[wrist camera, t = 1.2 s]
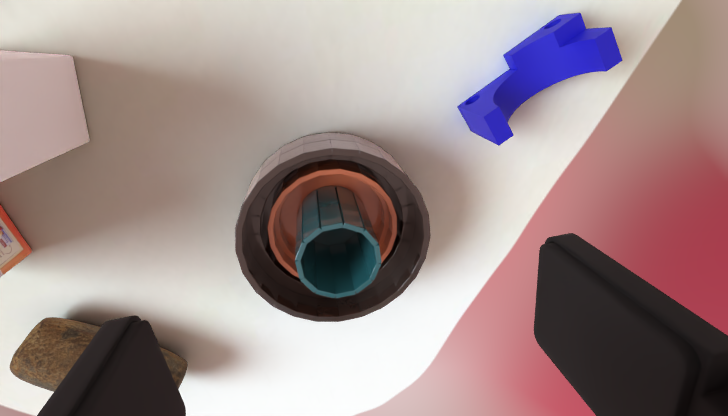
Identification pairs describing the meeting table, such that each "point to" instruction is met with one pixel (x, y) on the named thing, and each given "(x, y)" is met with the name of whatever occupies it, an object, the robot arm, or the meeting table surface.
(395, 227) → the small bowl
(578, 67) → the blue pipe clamp
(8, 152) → the milk carton
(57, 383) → the hollow wooden cylinder
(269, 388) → the meeting table surface
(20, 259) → the cracker box
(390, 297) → the large bowl
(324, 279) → the cup
